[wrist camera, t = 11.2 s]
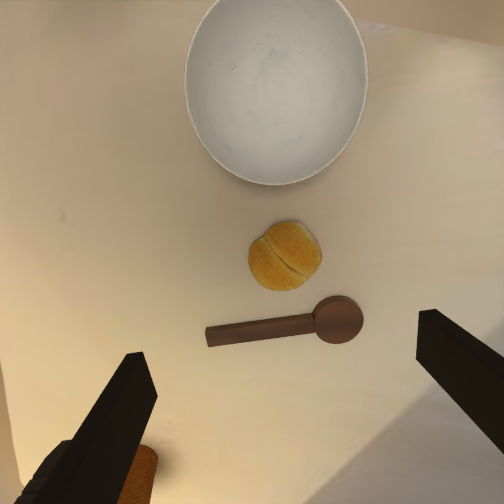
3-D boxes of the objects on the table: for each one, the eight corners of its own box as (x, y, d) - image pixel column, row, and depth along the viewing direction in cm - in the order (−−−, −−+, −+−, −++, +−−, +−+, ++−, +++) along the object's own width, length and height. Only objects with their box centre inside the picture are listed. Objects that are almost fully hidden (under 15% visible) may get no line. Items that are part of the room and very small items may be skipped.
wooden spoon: (203, 314, 35) (201, 319, 34) (358, 292, 35) (363, 297, 33) (212, 354, 37) (210, 361, 36) (359, 334, 37) (363, 340, 35)
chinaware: (359, 65, 27) (402, 23, 19) (304, 200, 31) (322, 208, 23) (224, 4, 25) (215, -67, 18) (184, 156, 29) (163, 150, 22)
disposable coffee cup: (117, 431, 41) (67, 531, 29) (174, 445, 42) (148, 547, 31) (104, 470, 43) (53, 577, 32) (158, 483, 44) (128, 590, 33)
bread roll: (236, 257, 33) (235, 267, 29) (288, 209, 31) (294, 213, 27) (278, 298, 35) (282, 313, 31) (329, 255, 33) (341, 265, 29)
